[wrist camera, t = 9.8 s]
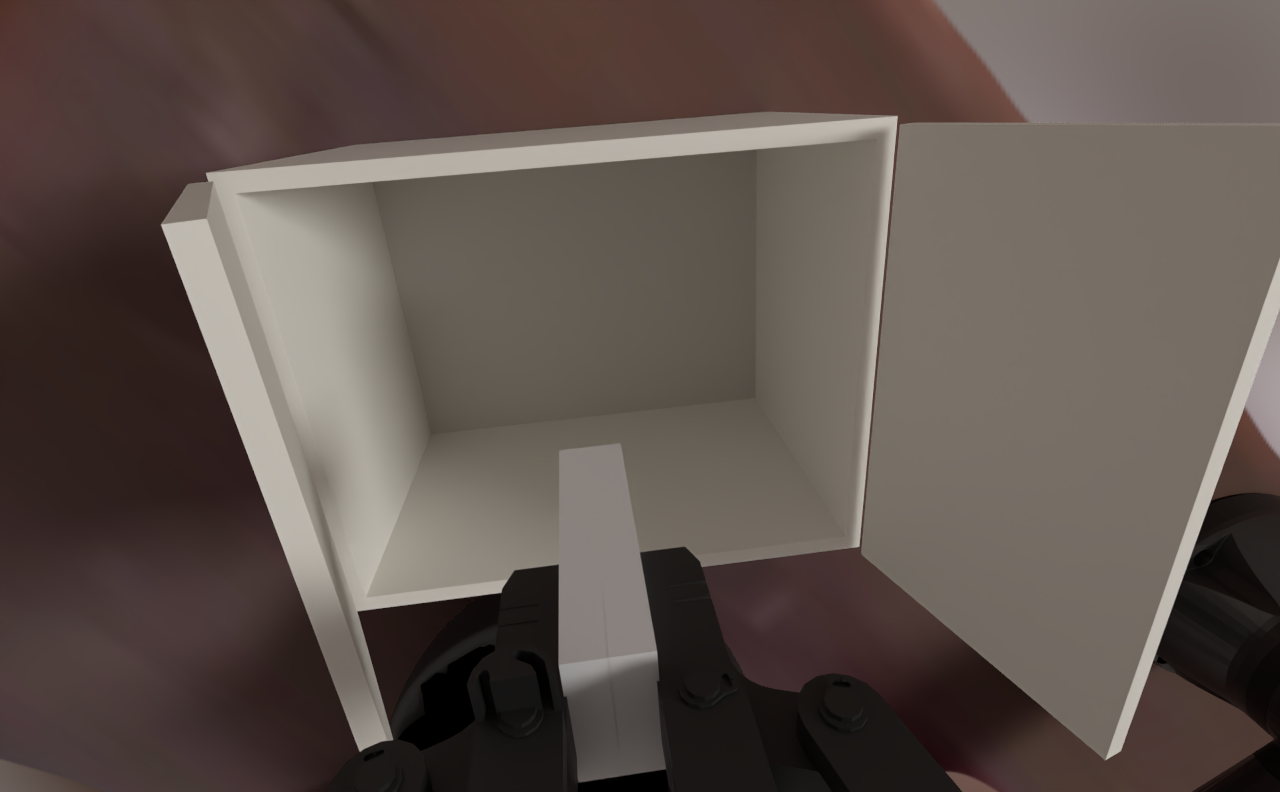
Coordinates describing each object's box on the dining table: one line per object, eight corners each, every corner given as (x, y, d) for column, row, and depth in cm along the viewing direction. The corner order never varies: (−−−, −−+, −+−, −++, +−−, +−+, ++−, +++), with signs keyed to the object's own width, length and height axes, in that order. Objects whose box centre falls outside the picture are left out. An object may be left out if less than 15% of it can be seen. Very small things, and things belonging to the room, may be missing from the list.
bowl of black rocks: (745, 675, 48) (845, 988, 31) (492, 752, 49) (454, 1103, 31) (675, 455, 40) (759, 721, 23) (370, 552, 40) (226, 883, 23)
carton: (765, 111, 32) (897, 115, 19) (762, 401, 39) (859, 546, 26) (354, 144, 31) (205, 172, 18) (425, 439, 37) (353, 611, 25)
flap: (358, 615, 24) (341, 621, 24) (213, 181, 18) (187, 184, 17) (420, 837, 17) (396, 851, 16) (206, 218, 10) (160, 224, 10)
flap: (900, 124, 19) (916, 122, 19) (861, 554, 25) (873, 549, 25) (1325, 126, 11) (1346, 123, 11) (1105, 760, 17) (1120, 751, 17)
